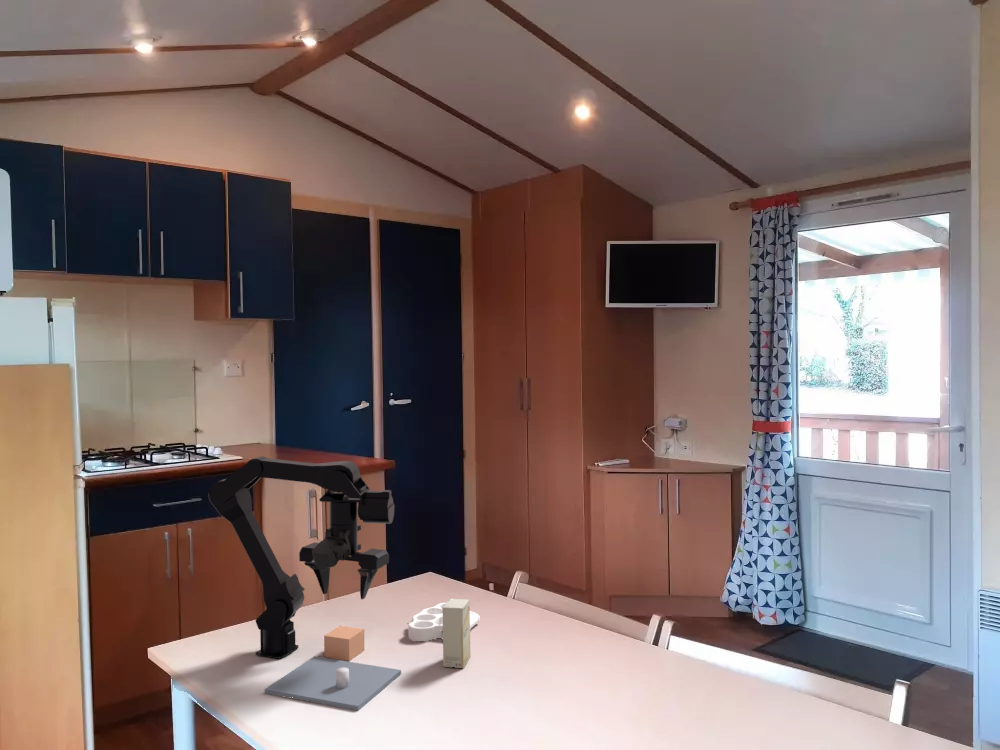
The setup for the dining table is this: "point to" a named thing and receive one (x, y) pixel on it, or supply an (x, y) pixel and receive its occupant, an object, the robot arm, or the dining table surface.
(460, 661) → the skincare box
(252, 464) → the robot arm
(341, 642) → the orange block
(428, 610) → the white egg tray
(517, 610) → the dining table surface
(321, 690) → the base plate
